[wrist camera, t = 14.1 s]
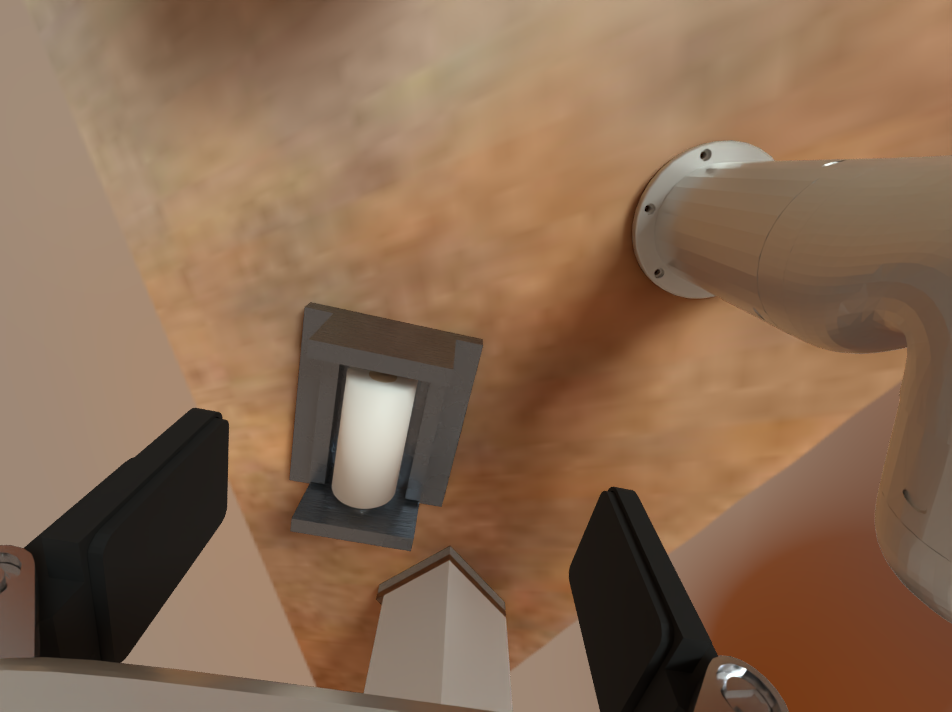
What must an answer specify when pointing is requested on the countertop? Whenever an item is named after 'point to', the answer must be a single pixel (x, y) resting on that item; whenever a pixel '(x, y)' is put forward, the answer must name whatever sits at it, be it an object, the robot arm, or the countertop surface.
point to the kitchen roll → (371, 437)
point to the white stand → (441, 638)
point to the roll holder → (430, 428)
